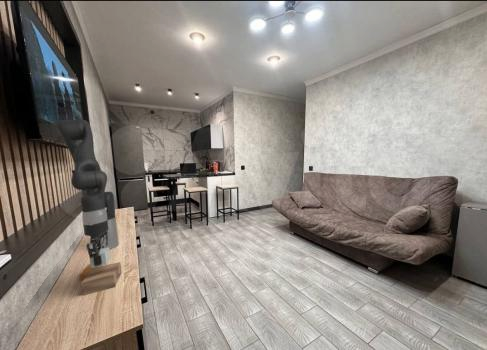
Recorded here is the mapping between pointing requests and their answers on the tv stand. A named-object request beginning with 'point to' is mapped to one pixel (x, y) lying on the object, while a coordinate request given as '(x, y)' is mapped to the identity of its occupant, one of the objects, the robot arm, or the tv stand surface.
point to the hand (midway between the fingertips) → (100, 261)
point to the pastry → (87, 271)
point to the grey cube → (102, 257)
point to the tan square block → (101, 278)
